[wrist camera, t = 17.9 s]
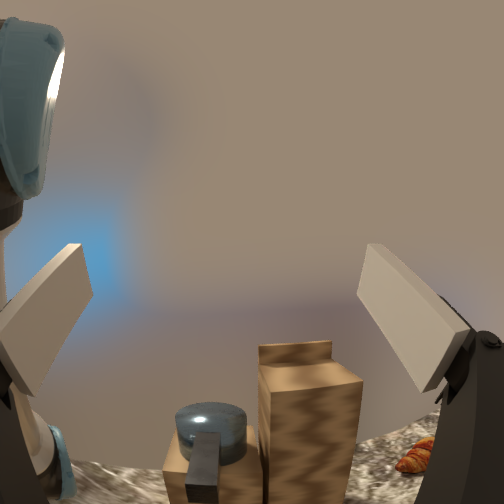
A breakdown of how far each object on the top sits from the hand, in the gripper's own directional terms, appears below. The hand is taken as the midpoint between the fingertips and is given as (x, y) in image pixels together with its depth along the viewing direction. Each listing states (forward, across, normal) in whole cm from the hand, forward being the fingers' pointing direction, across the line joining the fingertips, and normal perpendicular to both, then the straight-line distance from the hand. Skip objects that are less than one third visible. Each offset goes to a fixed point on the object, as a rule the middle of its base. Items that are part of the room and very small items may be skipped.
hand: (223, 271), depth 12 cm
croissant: (+3, +44, -52) cm, 69 cm away
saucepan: (+4, -3, -32) cm, 32 cm away
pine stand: (0, +5, -50) cm, 51 cm away
